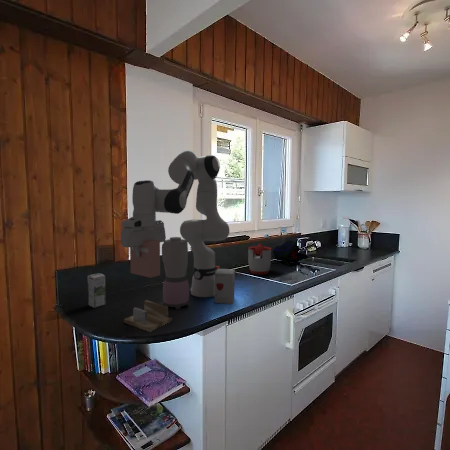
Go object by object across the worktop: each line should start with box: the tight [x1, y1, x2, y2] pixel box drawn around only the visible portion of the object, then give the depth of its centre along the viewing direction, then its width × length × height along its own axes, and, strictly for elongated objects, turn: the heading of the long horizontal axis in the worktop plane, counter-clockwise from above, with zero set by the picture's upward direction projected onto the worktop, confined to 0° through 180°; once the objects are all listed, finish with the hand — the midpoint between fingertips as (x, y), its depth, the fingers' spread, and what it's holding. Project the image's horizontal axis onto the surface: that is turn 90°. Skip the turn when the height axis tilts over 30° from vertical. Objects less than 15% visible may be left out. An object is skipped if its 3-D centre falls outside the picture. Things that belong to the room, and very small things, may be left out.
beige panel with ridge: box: [123, 299, 173, 333], centre depth 122 cm, size 12×15×6 cm
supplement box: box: [214, 268, 236, 305], centre depth 148 cm, size 9×9×15 cm
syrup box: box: [87, 273, 107, 309], centre depth 140 cm, size 6×6×14 cm
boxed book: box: [129, 240, 161, 279], centre depth 121 cm, size 5×12×14 cm, turn 55°
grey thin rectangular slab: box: [132, 307, 148, 325], centre depth 119 cm, size 1×7×5 cm, turn 56°
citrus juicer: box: [247, 243, 272, 276], centre depth 201 cm, size 16×17×20 cm
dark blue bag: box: [272, 239, 309, 267], centre depth 226 cm, size 21×26×30 cm
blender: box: [161, 236, 190, 310], centre depth 142 cm, size 16×12×32 cm
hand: (145, 255), depth 121 cm, fingers closed on boxed book, 5 cm apart
